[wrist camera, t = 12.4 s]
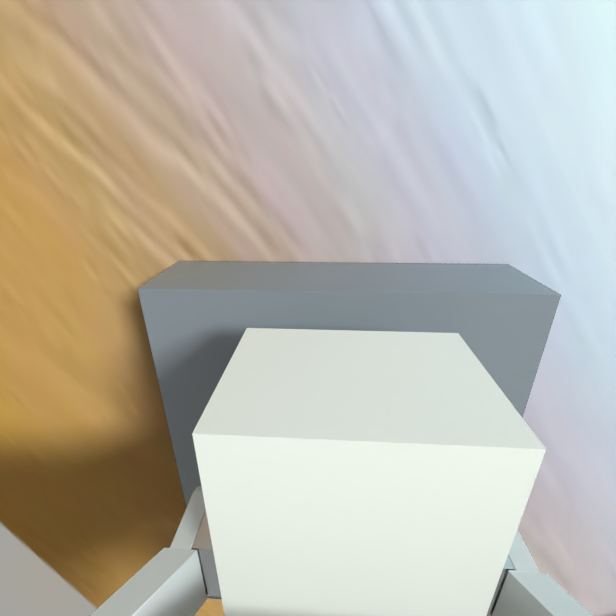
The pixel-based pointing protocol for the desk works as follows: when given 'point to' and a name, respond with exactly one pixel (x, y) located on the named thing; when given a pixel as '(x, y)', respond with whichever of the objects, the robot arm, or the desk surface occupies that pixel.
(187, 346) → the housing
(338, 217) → the desk surface
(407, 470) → the cover
